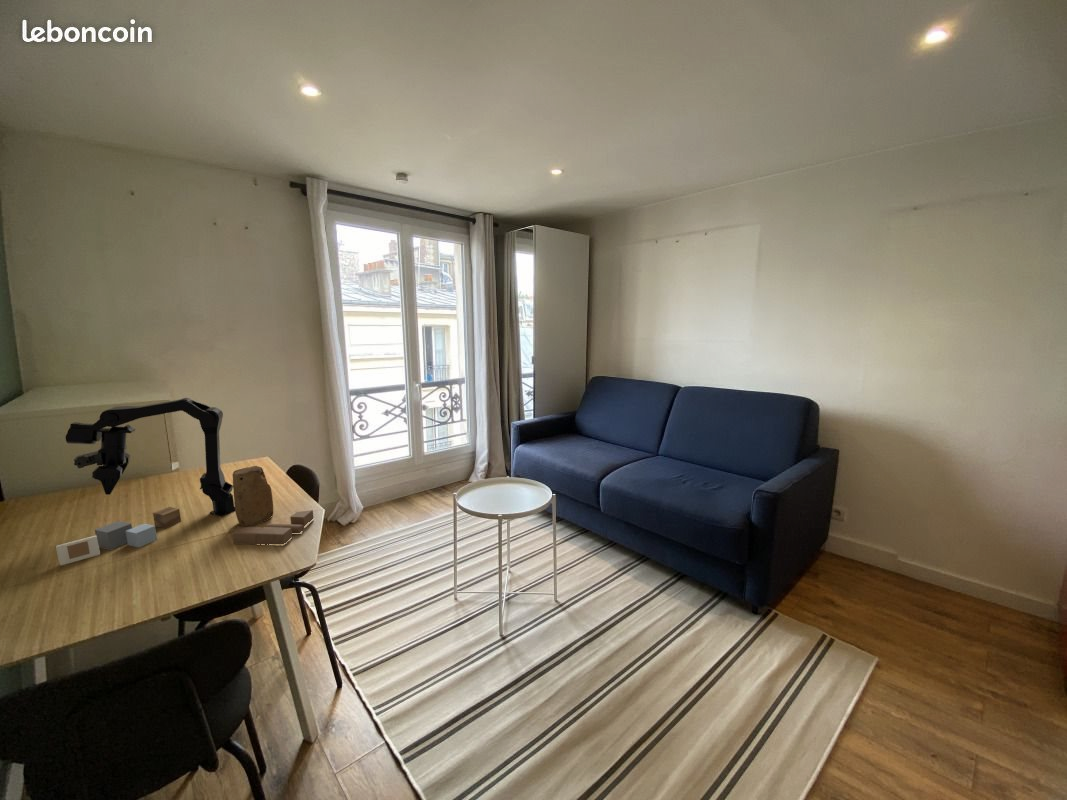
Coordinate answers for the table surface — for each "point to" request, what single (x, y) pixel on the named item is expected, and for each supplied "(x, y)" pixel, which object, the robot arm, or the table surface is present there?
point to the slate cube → (141, 535)
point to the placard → (78, 550)
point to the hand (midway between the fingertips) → (111, 489)
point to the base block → (112, 535)
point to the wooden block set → (273, 531)
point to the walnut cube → (167, 517)
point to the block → (252, 496)
